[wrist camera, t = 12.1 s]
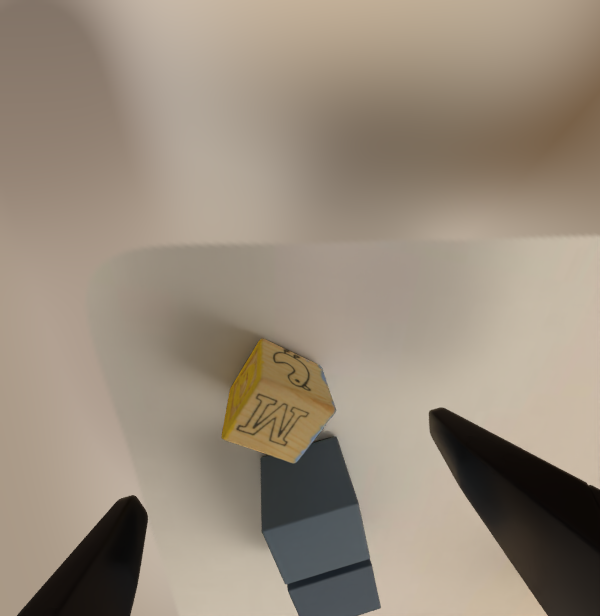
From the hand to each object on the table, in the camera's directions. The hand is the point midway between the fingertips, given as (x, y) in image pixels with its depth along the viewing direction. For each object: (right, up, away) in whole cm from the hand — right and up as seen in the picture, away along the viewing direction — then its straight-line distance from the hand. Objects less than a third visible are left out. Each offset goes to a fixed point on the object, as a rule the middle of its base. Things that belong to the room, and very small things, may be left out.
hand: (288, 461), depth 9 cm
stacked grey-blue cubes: (+1, -6, +8) cm, 10 cm away
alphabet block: (-1, +2, +4) cm, 5 cm away
